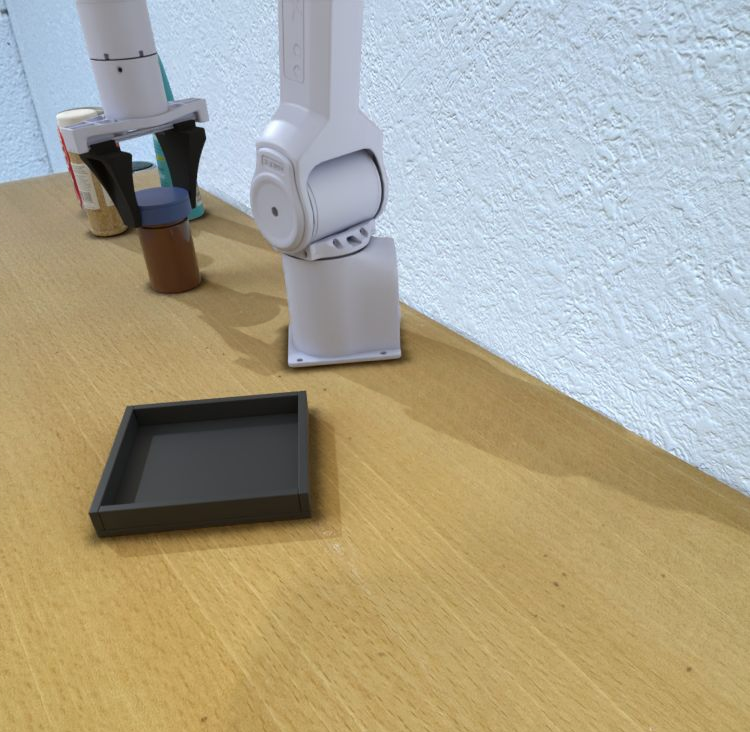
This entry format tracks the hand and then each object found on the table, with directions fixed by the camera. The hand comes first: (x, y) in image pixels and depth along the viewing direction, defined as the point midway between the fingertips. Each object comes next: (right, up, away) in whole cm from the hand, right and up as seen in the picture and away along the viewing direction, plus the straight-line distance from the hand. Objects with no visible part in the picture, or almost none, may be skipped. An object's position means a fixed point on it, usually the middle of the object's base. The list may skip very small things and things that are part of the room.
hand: (161, 216), depth 69 cm
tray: (+10, -26, -22) cm, 35 cm away
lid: (0, +1, -1) cm, 2 cm away
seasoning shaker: (-15, +11, +26) cm, 32 cm away
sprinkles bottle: (-12, +6, +19) cm, 23 cm away
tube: (-4, +9, +22) cm, 24 cm away
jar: (0, -5, +4) cm, 7 cm away
